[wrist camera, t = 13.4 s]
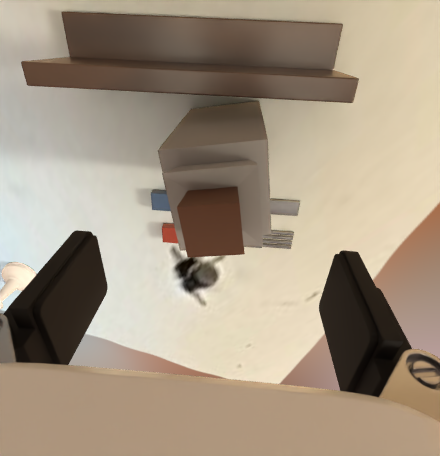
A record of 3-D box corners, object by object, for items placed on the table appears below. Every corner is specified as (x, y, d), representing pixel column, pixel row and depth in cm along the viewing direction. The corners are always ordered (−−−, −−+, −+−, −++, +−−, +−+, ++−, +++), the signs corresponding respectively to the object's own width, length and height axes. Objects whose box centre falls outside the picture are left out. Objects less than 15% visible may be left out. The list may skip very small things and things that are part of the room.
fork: (163, 221, 37) (161, 225, 37) (293, 230, 37) (294, 235, 36) (164, 239, 39) (163, 243, 38) (290, 248, 38) (291, 253, 37)
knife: (152, 189, 35) (150, 193, 34) (299, 199, 35) (301, 203, 34) (154, 206, 36) (152, 210, 36) (296, 215, 36) (297, 220, 35)
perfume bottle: (201, 172, 34) (164, 281, 18) (190, 108, 30) (135, 178, 15) (262, 167, 33) (276, 276, 18) (259, 100, 29) (273, 165, 14)
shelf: (65, 12, 27) (4, 2, 20) (340, 24, 26) (374, 18, 19) (77, 75, 29) (26, 85, 23) (327, 88, 28) (353, 103, 22)
